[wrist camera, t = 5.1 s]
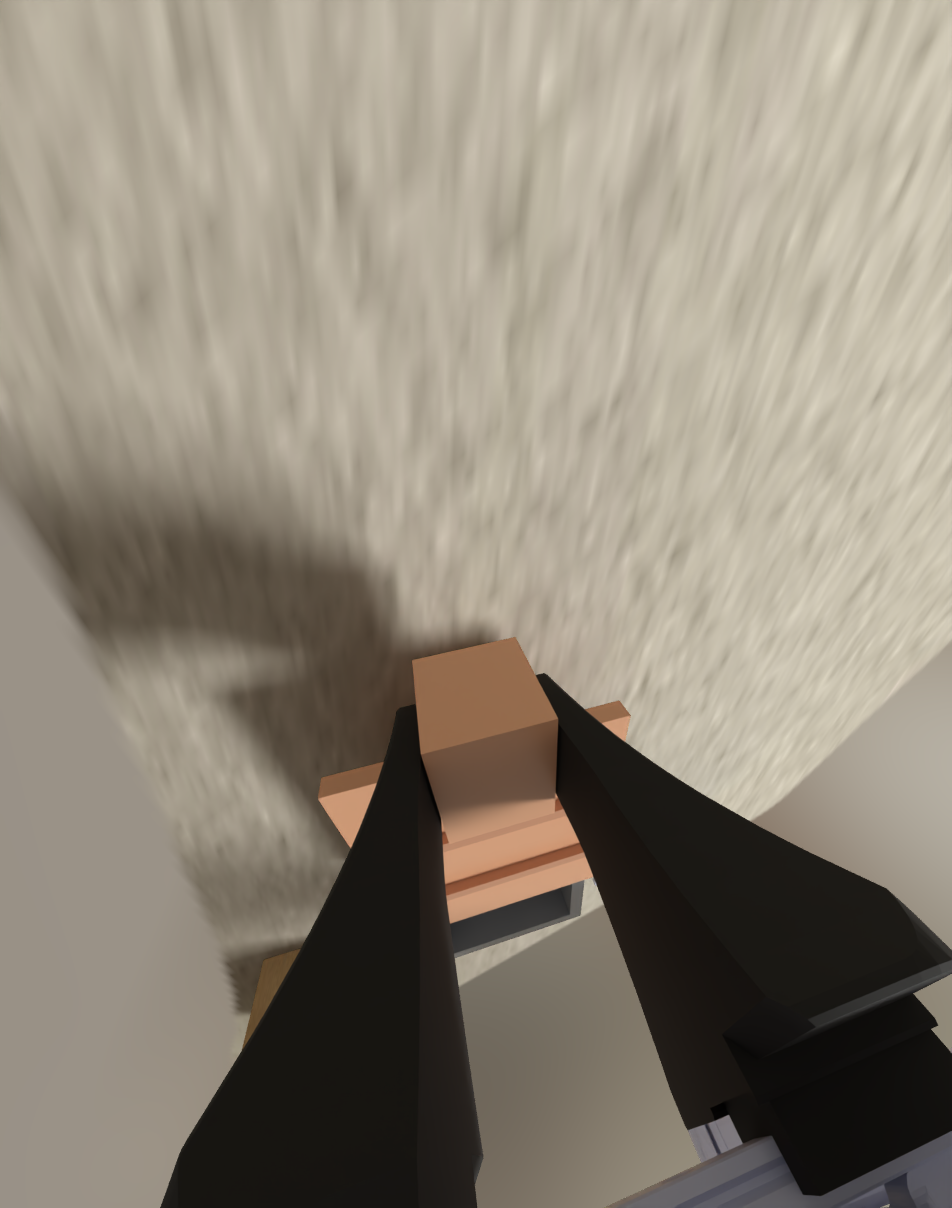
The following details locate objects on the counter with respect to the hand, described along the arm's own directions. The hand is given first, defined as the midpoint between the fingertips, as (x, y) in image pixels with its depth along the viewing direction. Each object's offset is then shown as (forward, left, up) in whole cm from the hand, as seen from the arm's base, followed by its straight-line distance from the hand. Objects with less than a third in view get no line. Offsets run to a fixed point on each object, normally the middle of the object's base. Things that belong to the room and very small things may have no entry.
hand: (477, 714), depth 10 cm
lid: (0, +7, -1) cm, 7 cm away
